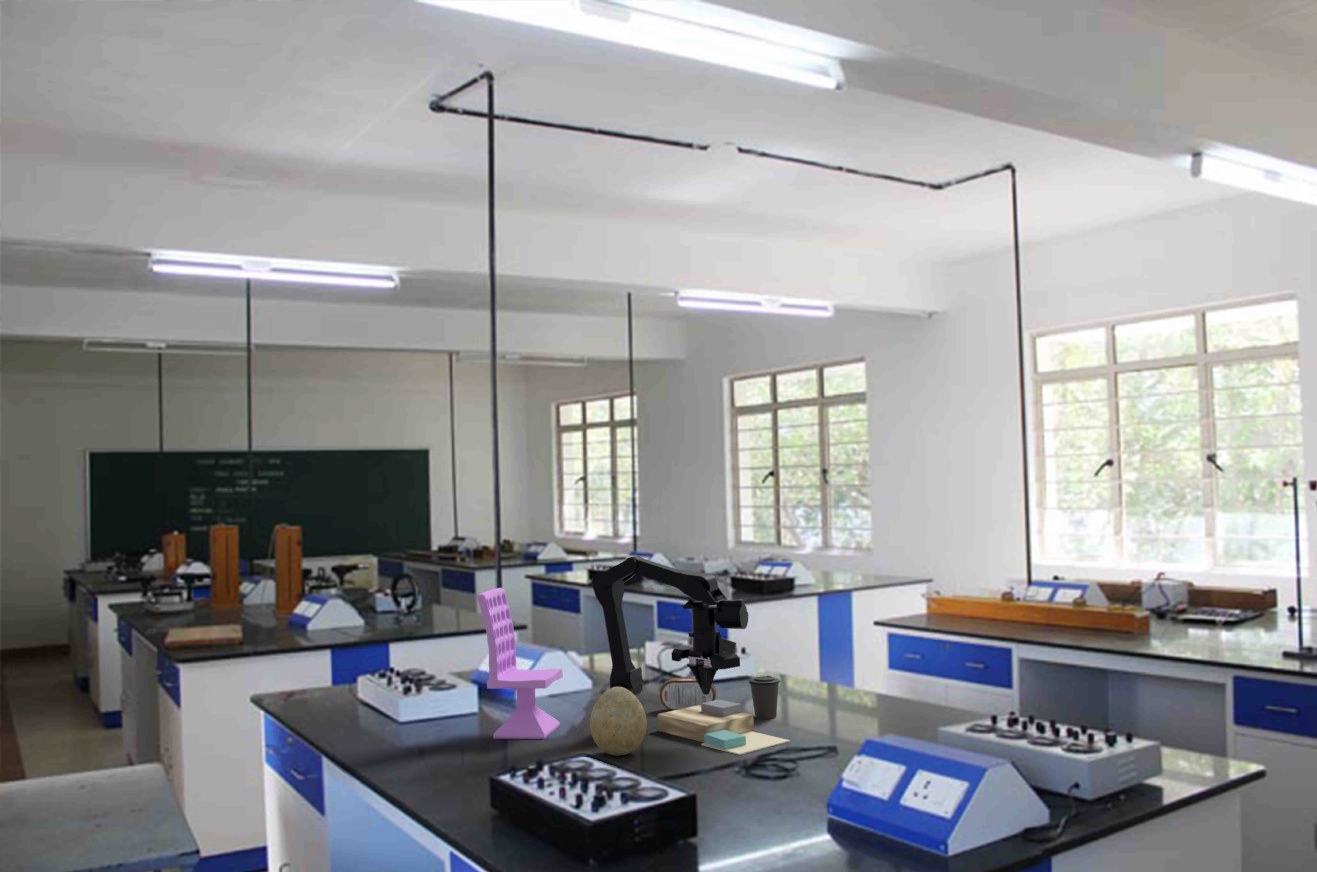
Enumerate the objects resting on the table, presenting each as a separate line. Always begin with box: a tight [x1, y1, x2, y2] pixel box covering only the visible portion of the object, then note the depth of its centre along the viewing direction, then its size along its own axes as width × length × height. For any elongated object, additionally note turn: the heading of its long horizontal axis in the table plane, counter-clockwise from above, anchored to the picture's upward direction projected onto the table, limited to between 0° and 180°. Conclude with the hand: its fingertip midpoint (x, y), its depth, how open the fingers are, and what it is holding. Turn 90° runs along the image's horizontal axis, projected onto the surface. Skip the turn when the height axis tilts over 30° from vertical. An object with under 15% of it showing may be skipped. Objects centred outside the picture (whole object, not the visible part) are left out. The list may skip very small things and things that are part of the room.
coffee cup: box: [748, 675, 781, 720], centre depth 264 cm, size 8×8×10 cm
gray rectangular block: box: [701, 699, 743, 717], centre depth 253 cm, size 6×8×2 cm
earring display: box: [476, 587, 563, 740], centre depth 257 cm, size 15×17×35 cm
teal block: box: [703, 730, 746, 749], centre depth 237 cm, size 6×8×2 cm
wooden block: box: [657, 705, 755, 743], centre depth 251 cm, size 15×18×4 cm
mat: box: [700, 731, 791, 756], centre depth 238 cm, size 16×13×1 cm
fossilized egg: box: [589, 687, 648, 757], centre depth 232 cm, size 13×13×15 cm
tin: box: [659, 677, 717, 711], centre depth 275 cm, size 15×3×8 cm, turn 84°
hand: (706, 694), depth 244 cm, fingers closed
